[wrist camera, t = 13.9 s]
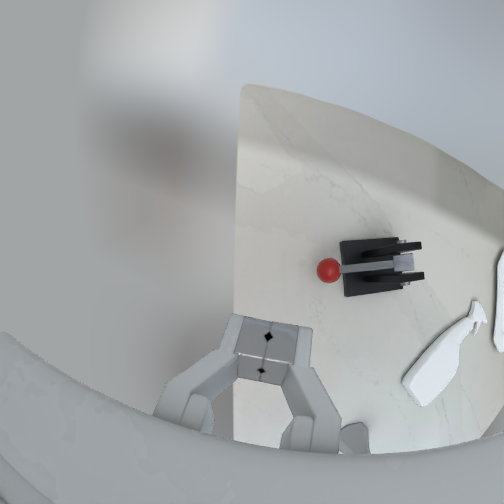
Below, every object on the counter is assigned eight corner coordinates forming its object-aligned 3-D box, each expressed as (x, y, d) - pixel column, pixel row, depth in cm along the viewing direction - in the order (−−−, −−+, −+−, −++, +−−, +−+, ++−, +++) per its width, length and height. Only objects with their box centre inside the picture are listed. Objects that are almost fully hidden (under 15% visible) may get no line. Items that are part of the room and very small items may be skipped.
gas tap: (344, 296, 43) (377, 302, 30) (339, 242, 44) (370, 229, 31) (399, 288, 43) (442, 290, 30) (395, 238, 44) (436, 225, 31)
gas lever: (322, 283, 41) (314, 285, 38) (320, 259, 41) (312, 259, 38) (414, 274, 33) (414, 275, 30) (411, 248, 33) (412, 247, 30)
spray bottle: (396, 378, 42) (468, 289, 43) (417, 408, 41) (484, 323, 42) (403, 382, 39) (477, 289, 40) (424, 413, 38) (493, 325, 39)
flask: (363, 416, 41) (384, 441, 31) (371, 440, 40) (390, 466, 30) (328, 433, 41) (343, 462, 31) (338, 456, 40) (352, 485, 30)
